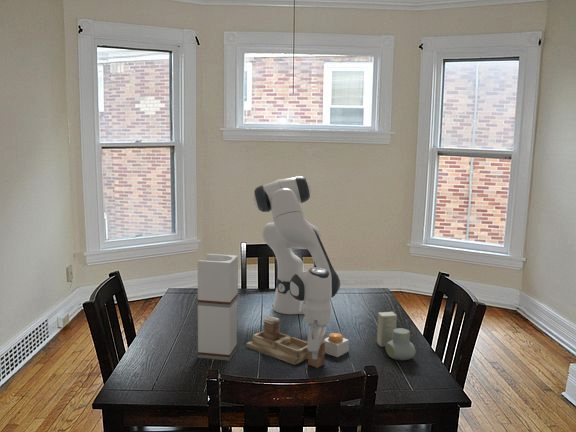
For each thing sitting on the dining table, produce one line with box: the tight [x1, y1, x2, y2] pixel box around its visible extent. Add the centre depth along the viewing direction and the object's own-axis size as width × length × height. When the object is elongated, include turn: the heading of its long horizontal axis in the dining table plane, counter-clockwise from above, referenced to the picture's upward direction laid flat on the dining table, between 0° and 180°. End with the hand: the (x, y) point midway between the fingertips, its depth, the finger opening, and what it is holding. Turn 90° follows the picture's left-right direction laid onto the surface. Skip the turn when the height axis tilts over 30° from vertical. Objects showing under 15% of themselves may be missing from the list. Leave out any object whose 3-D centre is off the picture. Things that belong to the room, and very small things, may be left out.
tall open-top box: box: [197, 253, 239, 362], centre depth 203 cm, size 11×11×35 cm
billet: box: [307, 338, 326, 369], centre depth 197 cm, size 4×4×9 cm
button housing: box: [324, 336, 350, 358], centre depth 209 cm, size 7×7×4 cm
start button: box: [328, 332, 344, 343], centre depth 208 cm, size 5×5×3 cm
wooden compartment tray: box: [246, 316, 308, 366], centre depth 209 cm, size 14×23×10 cm, turn 50°
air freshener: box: [385, 327, 417, 361], centre depth 205 cm, size 11×8×10 cm
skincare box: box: [376, 311, 398, 347], centre depth 216 cm, size 6×4×12 cm
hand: (316, 354), depth 197 cm, fingers closed on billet, 5 cm apart
